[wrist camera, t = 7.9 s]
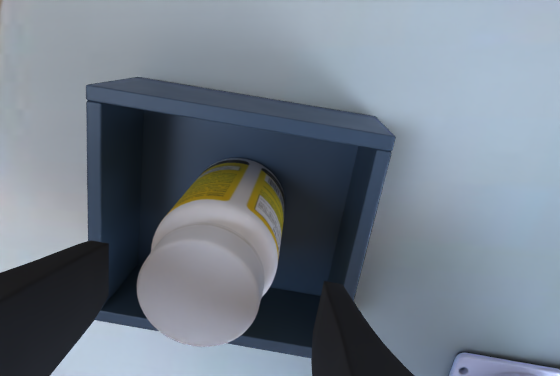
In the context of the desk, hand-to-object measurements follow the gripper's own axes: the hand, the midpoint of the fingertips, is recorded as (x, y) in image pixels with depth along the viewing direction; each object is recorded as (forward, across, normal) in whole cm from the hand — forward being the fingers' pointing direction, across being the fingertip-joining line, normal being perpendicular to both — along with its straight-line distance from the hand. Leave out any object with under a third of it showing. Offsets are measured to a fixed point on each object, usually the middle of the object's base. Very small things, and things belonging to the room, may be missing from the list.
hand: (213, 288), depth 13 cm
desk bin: (+8, 0, 0) cm, 8 cm away
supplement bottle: (+8, 0, 0) cm, 8 cm away
